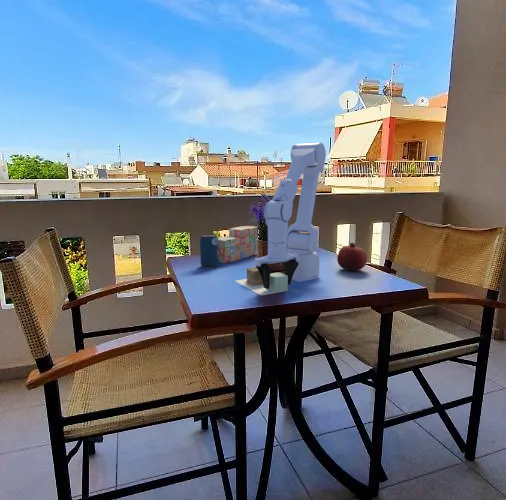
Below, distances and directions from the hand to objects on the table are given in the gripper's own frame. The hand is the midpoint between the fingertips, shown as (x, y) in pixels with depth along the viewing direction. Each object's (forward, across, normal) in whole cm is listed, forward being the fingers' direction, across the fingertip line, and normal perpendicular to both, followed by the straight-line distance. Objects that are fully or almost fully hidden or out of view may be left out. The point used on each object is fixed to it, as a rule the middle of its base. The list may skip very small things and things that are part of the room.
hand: (277, 286), depth 112 cm
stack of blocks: (+2, -10, -45) cm, 46 cm away
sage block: (+1, 0, 0) cm, 1 cm away
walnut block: (+1, +2, -9) cm, 9 cm away
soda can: (+2, +6, -37) cm, 38 cm away
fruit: (+2, -36, -6) cm, 37 cm away
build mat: (+1, +2, -6) cm, 6 cm away
